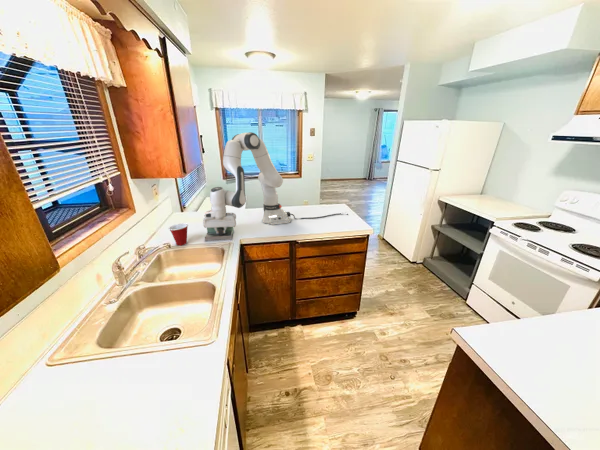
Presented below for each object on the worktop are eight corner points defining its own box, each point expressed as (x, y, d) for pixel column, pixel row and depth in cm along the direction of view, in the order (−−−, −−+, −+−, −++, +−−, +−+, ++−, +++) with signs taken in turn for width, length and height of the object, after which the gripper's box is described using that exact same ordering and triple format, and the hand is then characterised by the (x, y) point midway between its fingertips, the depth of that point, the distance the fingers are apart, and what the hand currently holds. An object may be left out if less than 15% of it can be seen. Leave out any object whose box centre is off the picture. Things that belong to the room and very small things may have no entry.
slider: (223, 232, 158) (222, 227, 157) (222, 234, 155) (222, 228, 154) (219, 233, 158) (218, 227, 156) (218, 234, 155) (218, 229, 153)
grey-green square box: (233, 230, 170) (232, 214, 166) (231, 239, 155) (229, 222, 151) (210, 231, 168) (208, 215, 163) (205, 241, 153) (203, 223, 149)
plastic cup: (177, 240, 154) (174, 222, 150) (193, 240, 154) (191, 223, 149) (168, 247, 144) (164, 228, 140) (185, 247, 144) (182, 229, 139)
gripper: (236, 211, 156) (237, 230, 161) (203, 211, 153) (205, 231, 157) (235, 214, 150) (236, 234, 155) (201, 214, 147) (203, 235, 152)
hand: (220, 233), depth 156 cm, fingers closed on slider, 2 cm apart
